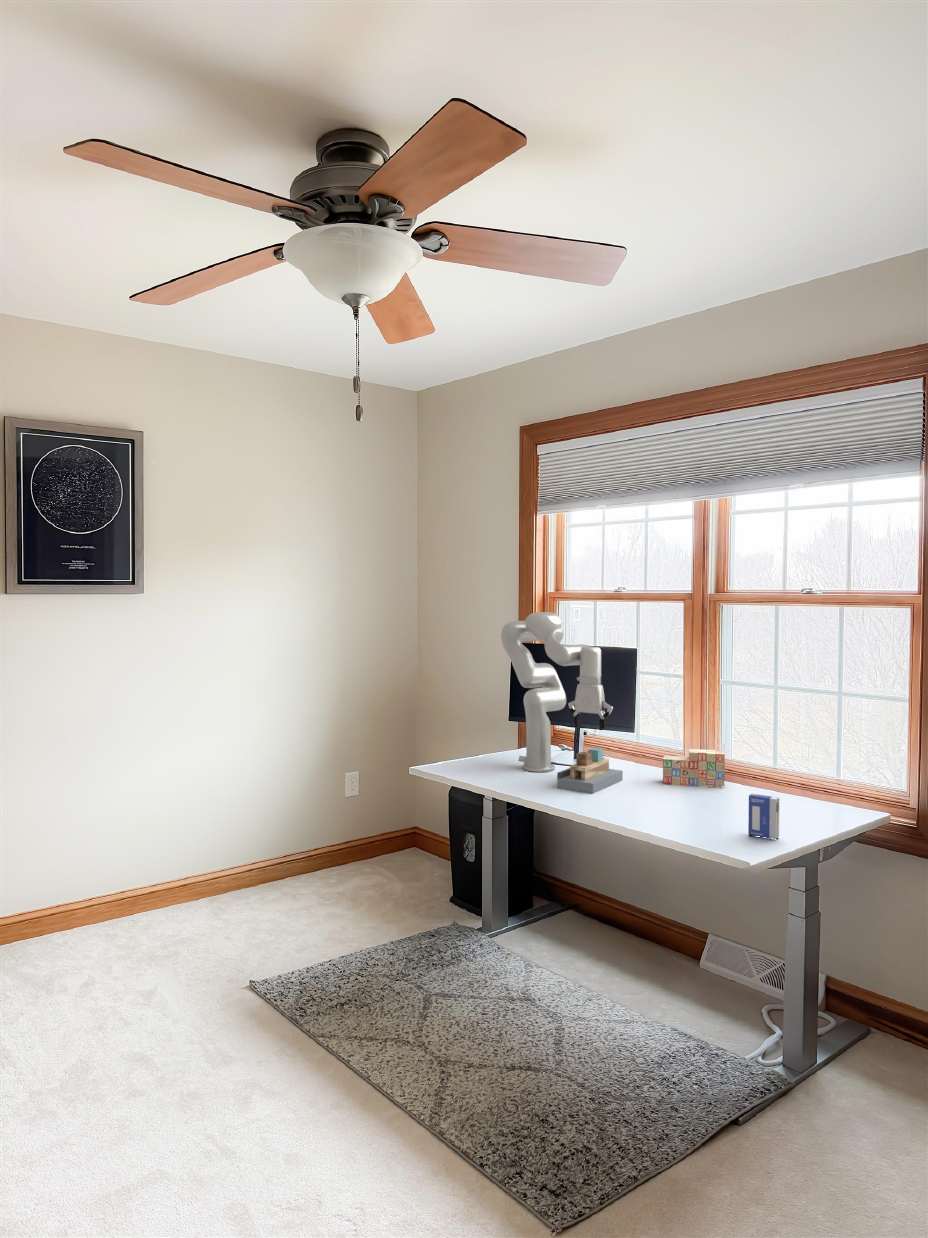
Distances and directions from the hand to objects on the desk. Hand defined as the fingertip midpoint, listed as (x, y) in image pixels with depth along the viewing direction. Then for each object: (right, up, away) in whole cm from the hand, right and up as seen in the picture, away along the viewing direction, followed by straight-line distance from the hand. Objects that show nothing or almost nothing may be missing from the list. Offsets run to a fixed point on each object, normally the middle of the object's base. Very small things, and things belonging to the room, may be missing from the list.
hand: (590, 728), depth 299 cm
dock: (0, -20, +1) cm, 20 cm away
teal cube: (+3, -12, +4) cm, 13 cm away
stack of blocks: (+37, -20, 0) cm, 42 cm away
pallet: (0, -17, +1) cm, 17 cm away
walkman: (+40, -23, -63) cm, 78 cm away
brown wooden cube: (-3, -13, -3) cm, 13 cm away
